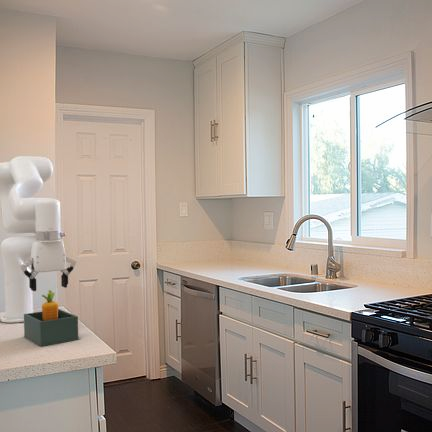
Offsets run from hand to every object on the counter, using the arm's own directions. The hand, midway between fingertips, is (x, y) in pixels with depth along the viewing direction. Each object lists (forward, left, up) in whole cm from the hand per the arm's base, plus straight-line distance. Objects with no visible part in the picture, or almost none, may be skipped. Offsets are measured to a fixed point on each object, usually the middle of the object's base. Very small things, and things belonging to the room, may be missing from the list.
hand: (49, 288), depth 177 cm
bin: (+1, 0, -16) cm, 16 cm away
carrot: (+1, 0, -16) cm, 16 cm away
